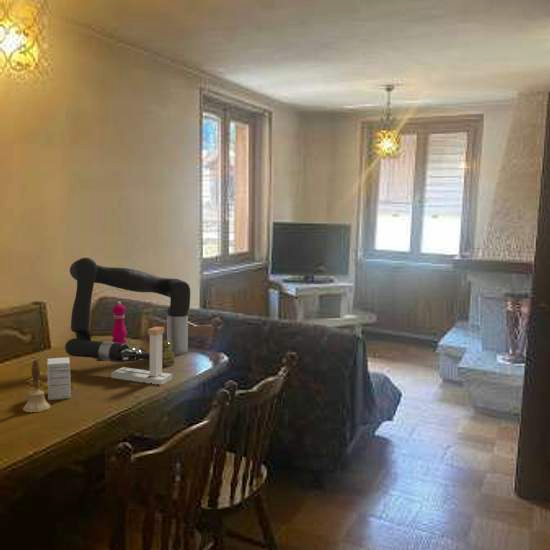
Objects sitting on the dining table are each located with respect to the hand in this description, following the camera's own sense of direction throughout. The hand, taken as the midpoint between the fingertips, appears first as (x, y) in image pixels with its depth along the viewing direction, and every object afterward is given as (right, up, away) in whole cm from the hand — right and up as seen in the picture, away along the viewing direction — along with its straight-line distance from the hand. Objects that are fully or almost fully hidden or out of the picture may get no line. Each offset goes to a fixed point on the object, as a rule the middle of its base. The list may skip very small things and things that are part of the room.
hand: (152, 357), depth 212 cm
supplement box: (-28, -11, -19) cm, 36 cm away
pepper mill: (-28, -1, +56) cm, 62 cm away
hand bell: (-31, -12, -31) cm, 45 cm away
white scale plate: (-5, -9, +3) cm, 10 cm away
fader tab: (+1, -7, 0) cm, 7 cm away
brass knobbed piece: (+1, -6, +23) cm, 24 cm away
